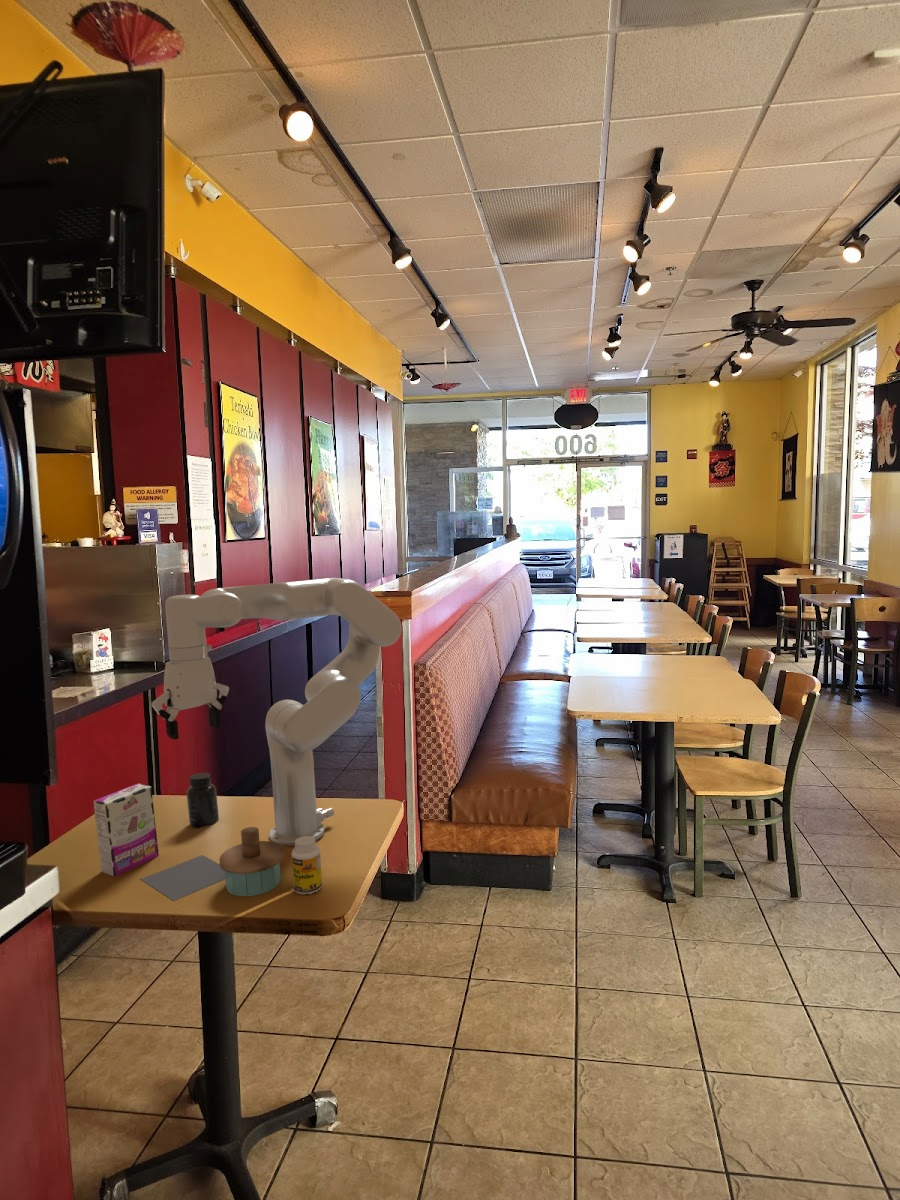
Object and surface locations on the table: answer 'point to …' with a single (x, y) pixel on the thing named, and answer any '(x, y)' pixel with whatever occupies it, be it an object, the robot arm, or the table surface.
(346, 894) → the table surface
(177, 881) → the mat
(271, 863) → the lid
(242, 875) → the bowl
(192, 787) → the supplement bottle
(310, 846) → the supplement bottle
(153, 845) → the candy bar box
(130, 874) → the table surface
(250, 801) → the table surface
